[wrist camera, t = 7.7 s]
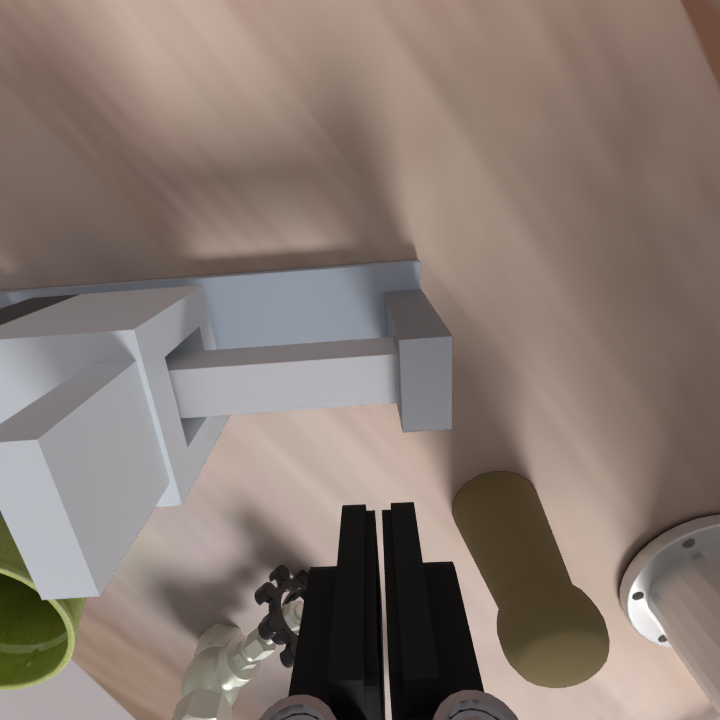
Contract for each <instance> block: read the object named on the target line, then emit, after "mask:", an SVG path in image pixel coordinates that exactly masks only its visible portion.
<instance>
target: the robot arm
mask: <svg viewBox="0 0 720 720" xmlns="http://www.w3.org/2000/svg"><path fill="white" fill-rule="evenodd" d="M382 521H383V545H384V569H385V592H386V616H387V640H388V663H389V682H390V697H391V711H392V720H518V718H517V717H516V715H515V714H514V713H513V712H512V711H511V710H510V709H509V708H508V706H507V705H506V704H505V703H504V702H502V701H500V700H499V699H497V698H496V697H494V696H492V695H491V694H488V693H485V692H484V689H483V685H482V681H481V676H480V672H479V668H478V664H477V659H476V655H475V651H474V647H473V642H472V638H471V634H470V630H469V625H468V621H467V617H466V613H465V608H464V604H463V600H462V596H461V591H460V587H459V583H458V579H457V574H456V570H455V567H454V564H453V562H428V563H423V561H422V554H421V548H420V541H419V534H418V528H417V521H416V514H415V507H414V502H406V503H391V510H382ZM620 603H621V607H622V610H623V612H624V614H625V615H626V617H627V619H628V620H629V622H630V624H631V625H632V626H633V627H634V629H635V630H636V631H637V632H638V633H639V634H640V635H642V636H643V637H645V638H646V639H647V640H649V641H652V642H654V643H656V644H659V645H663V646H667V647H672V648H673V649H674V650H675V652H676V653H677V654H678V656H679V657H680V659H681V660H682V662H683V663H684V665H685V666H686V667H687V669H688V670H689V672H690V673H691V675H692V676H693V677H694V679H695V680H696V682H697V683H698V685H699V686H700V687H701V689H702V690H703V692H704V693H705V695H706V696H707V698H708V699H709V700H710V702H711V703H712V705H713V706H714V708H715V709H716V710H717V712H718V713H719V715H720V515H712V516H707V517H703V518H698V519H694V520H692V521H689V522H686V523H683V524H680V525H678V526H676V527H674V528H672V529H670V530H668V531H666V532H664V533H663V534H661V535H660V536H658V537H657V538H655V539H654V540H653V541H651V542H650V543H649V544H648V545H647V546H645V547H644V548H643V549H642V550H641V551H640V552H639V553H638V554H637V555H636V557H635V558H634V559H633V561H632V562H631V563H630V564H629V566H628V568H627V570H626V572H625V574H624V576H623V579H622V582H621V586H620ZM259 720H385V692H384V660H383V629H382V602H381V587H380V574H379V560H378V546H377V533H376V519H375V510H373V511H366V505H365V504H364V505H343V506H342V515H341V526H340V538H339V549H338V560H337V566H330V567H311V568H310V570H309V574H308V580H307V586H306V592H305V598H304V604H303V610H302V616H301V623H300V629H299V635H298V641H297V647H296V653H295V659H294V665H293V672H292V678H291V684H290V690H289V696H288V697H287V698H284V699H282V700H279V701H278V702H277V703H275V704H274V705H273V706H271V707H270V708H268V709H267V711H266V712H265V713H264V714H263V715H262V717H261V718H260V719H259Z"/></svg>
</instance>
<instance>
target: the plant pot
mask: <svg viewBox="0 0 720 720" xmlns="http://www.w3.org/2000/svg"><path fill="white" fill-rule="evenodd" d="M86 599H87V597H82V598H67V599H51V600H42V599H41V597H40V595H39V593H38V591H37V588H36V586H35V584H34V582H33V580H32V578H31V576H30V573H29V571H28V569H27V567H26V565H25V563H24V560H23V558H22V556H21V554H20V552H19V550H18V548H17V545H16V543H15V541H14V539H13V537H12V535H11V533H10V530H9V528H8V526H7V524H6V522H5V520H4V518H0V690H14V689H19V688H25V687H29V686H31V685H36V684H39V683H41V682H44V681H46V680H49V679H50V678H52V677H53V676H55V675H56V674H57V673H59V672H60V671H61V670H62V669H63V668H64V667H65V666H66V664H67V663H68V661H69V660H70V658H71V656H72V654H73V652H74V649H75V646H76V640H77V632H76V629H77V627H78V625H79V622H80V619H81V613H82V608H83V605H84V603H85V601H86Z"/></svg>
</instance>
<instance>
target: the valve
mask: <svg viewBox="0 0 720 720" xmlns="http://www.w3.org/2000/svg"><path fill="white" fill-rule="evenodd" d="M308 574H309V573H307V572H306V571H304V570H301V571H300V572H299V573H297V574H296V575H295V576H294V577H293V578H292V579H291V578H290V573H289V571H288V569H287V568H286V567H285V566H283V565H280V566H278V567H277V568H276V569H275V570H274V571H272V572H271V573H270V575H269V579H270V582H271V581H273V580H276V582H277V587H276V588H275V586H274V585H273V584H272V583H270V582H266V583H265V584H263V585H262V586H261V587H260V588H259V589H257V590H256V592H255V600H256V602H257V603H258V604H259V605H261V604H262V603H263V602H267V603H269V614H268V615H266V616H265V617H264V618H263V620H262V622H261V623H260V624H259V626H258V627H257V628H256V629H255V630H254V631H252V632H251V633H250V634H249V635H248V637H247V636H244V635H243V633H242V631H241V630H240V628H238V627H233V626H227V625H221V624H214V625H213V626H212V627H211V628H209V629H208V630H207V631H206V632H205V633H203V634H202V635H201V636H200V639H199V642H198V645H197V648H196V651H195V654H194V656H195V657H194V659H193V660H192V661H191V663H190V664H189V666H188V668H187V670H186V672H185V674H184V677H183V681H182V688H181V696H182V699H181V700H180V701H179V702H178V703H177V706H176V709H175V712H174V715H173V718H172V720H231V715H232V711H233V710H232V708H231V706H232V705H233V703H234V702H235V700H236V698H237V696H238V694H239V691H240V687H241V686H243V685H245V684H246V683H247V682H248V681H250V680H251V679H252V678H254V677H255V675H256V674H257V672H258V670H259V666H260V660H263V659H264V658H266V657H267V656H268V655H270V654H271V653H272V652H273V651H275V648H276V644H278V645H283V644H286V647H285V650H284V651H282V652H281V653H280V660H281V662H282V664H283V665H284V666H285V667H287V668H290V667H292V666H293V665H294V659H295V653H296V647H297V641H298V635H297V634H298V633H299V629H300V623H301V616H302V610H303V603H302V602H301V601H295V600H296V599H297V598H298V597H301V598H302V599H303V600H304V598H305V592H306V586H307V580H308ZM286 591H290V593H289V594H288V595H287V597H286V598H285V600H284V602H283V604H282V607H281V598H282V595H283V593H284V592H286Z"/></svg>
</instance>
